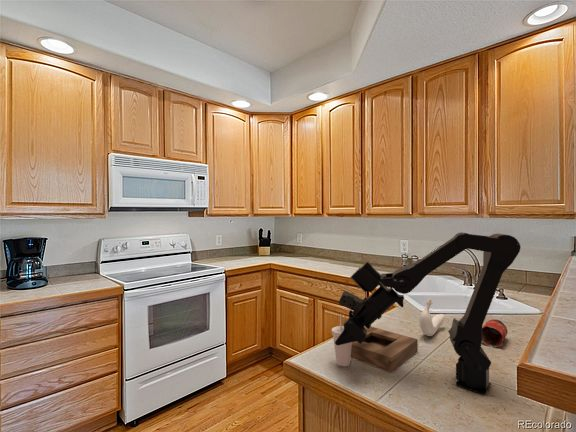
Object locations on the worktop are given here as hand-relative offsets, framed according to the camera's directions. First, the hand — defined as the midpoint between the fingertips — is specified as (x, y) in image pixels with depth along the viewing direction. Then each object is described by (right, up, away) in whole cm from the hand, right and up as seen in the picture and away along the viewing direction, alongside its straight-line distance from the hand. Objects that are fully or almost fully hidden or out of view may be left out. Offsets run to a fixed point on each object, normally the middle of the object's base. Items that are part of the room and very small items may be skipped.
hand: (338, 339), depth 90 cm
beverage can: (+56, -7, +16) cm, 59 cm away
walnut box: (+14, -7, +8) cm, 18 cm away
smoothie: (+1, -7, -1) cm, 7 cm away
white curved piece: (+38, -7, +23) cm, 45 cm away
